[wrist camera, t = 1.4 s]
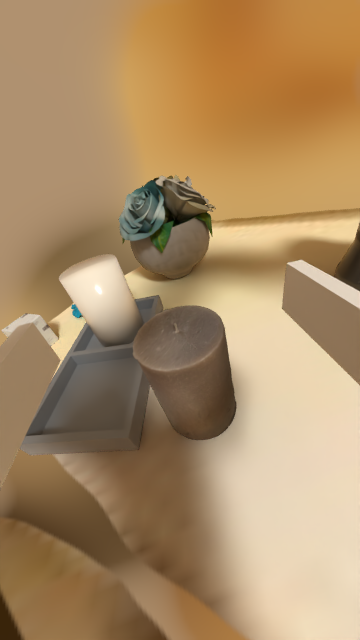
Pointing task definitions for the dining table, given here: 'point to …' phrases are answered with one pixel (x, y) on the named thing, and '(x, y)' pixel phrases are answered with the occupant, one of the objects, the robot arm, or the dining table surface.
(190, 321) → the pillar candle
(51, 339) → the skincare box
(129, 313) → the white candle
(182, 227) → the flower arrangement
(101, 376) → the tray
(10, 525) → the dining table surface
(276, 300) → the dining table surface
